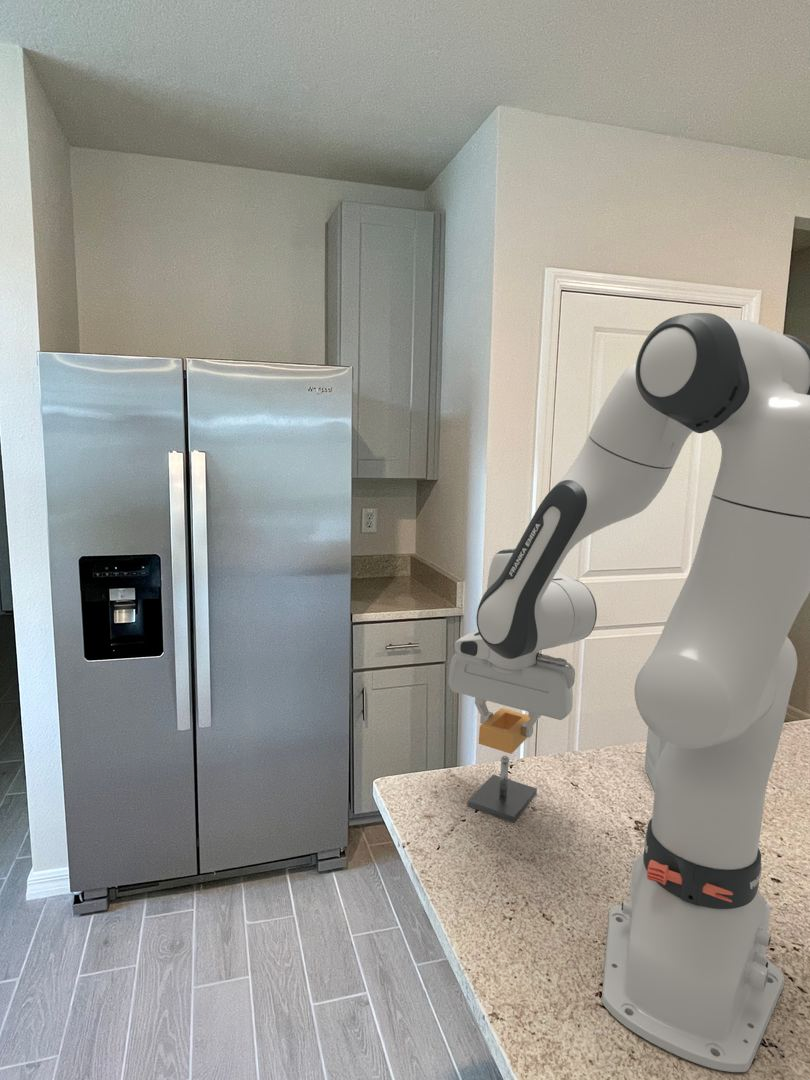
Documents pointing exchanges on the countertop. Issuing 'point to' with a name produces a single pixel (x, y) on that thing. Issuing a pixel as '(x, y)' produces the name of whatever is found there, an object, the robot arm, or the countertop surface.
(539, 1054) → the countertop surface
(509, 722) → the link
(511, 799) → the keeper post
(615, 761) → the countertop surface
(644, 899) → the robot arm
